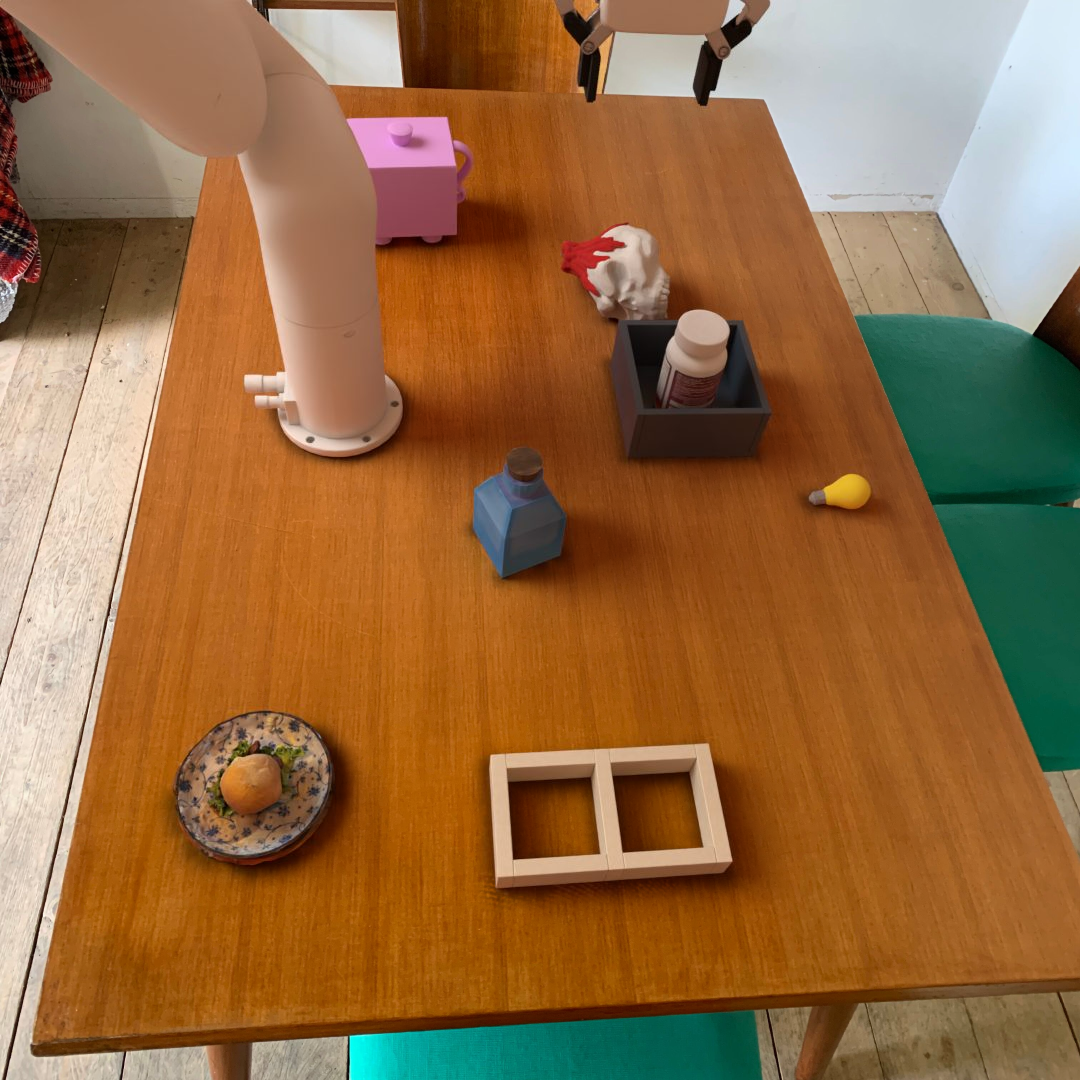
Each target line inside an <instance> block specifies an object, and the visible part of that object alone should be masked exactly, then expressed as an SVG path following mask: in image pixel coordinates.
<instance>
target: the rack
mask: <svg viewBox="0 0 1080 1080" xmlns="http://www.w3.org/2000/svg"><path fill="white" fill-rule="evenodd" d="M711 752H712V751H711V748H710V743H708V742H707V743H695V744H694V743H690V744H673V745H672V744H671V745H651V746H632V747H631V746H630V747H617V748H615V747H614V748H594V749H572V750H554V751H553V750H552V751H534V752H517V753H516V752H515V753H495V754H490V757H489V768H488V769H489V770H488V771H489V788H490V801H491V802H490V804H491V821H492V822H491V823H492V824H491V825H492V840H493V842H492V843H493V855H494V856H493V857H494V859H493V860H494V877H495V888H496V889H505V888H506V889H507V888H519V887H520V888H521V887H535V886H550V885H564V884H566V885H567V884H577V883H578V884H579V883H595V882H607V881H619V880H620V881H623V880H637V879H651V878H666V877H667V878H668V877H679V876H680V877H682V876H696V875H710V874H711V875H712V874H723V873H724V872H725V871H726V870H727V869H728V868H729V867H730V865H731V864H733V857H732V852H731V846H730V842H729V836H728V832H727V828H726V821H725V817H724V813H723V812H724V811H723V807H722V803H721V802H722V801H721V798H720V792H719V788H718V787H719V786H718V782H717V778H716V777H717V776H716V773H715V767H714V762H713V758H712V753H711ZM688 772H689V778H690V782H691V788H692V795H693V798H694V804H695V810H696V816H697V820H698V821H697V822H698V825H699V831H700V837H701V842H702V847H692V848H676V849H662V850H646V851H645V850H644V851H631V852H629V851H628V852H623V846H622V844H623V843H622V837H621V831H620V830H621V829H620V823H619V816H618V809H617V808H618V807H617V801H616V800H617V799H616V793H615V786H614V779H613V777H616V776H635V775H637V776H638V775H650V774H651V775H653V774H672V773H673V774H674V773H688ZM581 778H584V779H585V778H590V781H591V790H592V796H593V805H594V813H595V814H594V815H595V821H596V822H595V823H596V829H597V830H596V831H597V837H598V846H599V854H585V855H569V856H567V855H566V856H553V857H552V856H551V857H539V858H536V857H535V858H523V859H522V858H521V859H514V854H513V839H512V838H513V837H512V826H511V825H512V822H511V811H510V795H509V783H510V782H528V781H545V780H547V781H548V780H564V779H581ZM589 878H590V879H589Z"/></svg>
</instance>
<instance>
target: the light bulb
mask: <svg viewBox="0 0 1080 1080" xmlns="http://www.w3.org/2000/svg"><path fill="white" fill-rule="evenodd" d="M871 492H872V491H871V486H870V484H869V482H868V480H867V479H866V478H864V477H863V476H861V475H860V474H855V473H848V474H845V475H843V476H841V477H839V478H838V479H837V480H836V481H834V482H833V483H831V484H830V485H827V486H825V487H824V488H823V489H820V490H815V491H812V492H811V493H810V495H809V496H808V501H809V502H810V503H812V505H814V506H816V505H817V506H818V505H822V504H823V505H824V504H826V505H828V506H836V507H838V508H839V507H840V508H843V509H847V510H856V509H859V508H862V507H863V506H864V505H866V503H867V502H868V500H869V499H870V497H871Z"/></svg>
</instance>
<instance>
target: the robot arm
mask: <svg viewBox="0 0 1080 1080" xmlns="http://www.w3.org/2000/svg"><path fill="white" fill-rule="evenodd" d="M553 1H554V4H555V6H556V9H557V11H558V14H559V16H560V18H561V22H562V25H563V27H564V29H565V31H566V32H567V33H568V34H569V35H570V36H571V37H572V39H573V40H574V41H575V42H576V44H577V45H578V46H579V47H580V48H579V56H578V64H577V72H576V73H577V74H576V84H577V87H578V88H583V92H584V96H585V102H586V103H587V104H588V103H589V104H590V103H594V102H596V100H597V92H598V84H599V79H600V78H599V77H600V69H601V63H602V54H601V51H600V47H601V46H602V44H604V43H605V41H607V39H608V38H610V36H611V35H612V34H613V33H614V32H617V33H627V34H644V35H645V34H648V35H670V36H672V35H674V36H704V37H705V38H706V40H704V41H703V44H702V43H701V46H700V50H699V54H698V59H697V63H696V68H695V74H694V76H693V82H692V90H693V94H694V96H695V99H696V102H697V105H699V106H700V107H707V106H708V103H709V99H710V95H711V92H715V91H716V90H717V86H718V83H719V78H720V74H721V70H722V66H723V62H724V60H726V59H727V58H729V57H730V55H731V52H732V50H733V49H734V48H735V47H737V46H738V45H740V44H741V43H742V42H743V41H744V40H746V39H747V38H748V37H749V36H750V35H751V34H752V32H753V28H754V27H755V25H758V23H759V22H760V20H761V19H762V18H763V16H764V15H765V14H766V13H767V11H768V9H769V8H770V6H771V0H739V1H740V2H742V3H743V4H744V6H743V7H742V9H741V11H740V13H738V14H736V15H735V16H733V18H731V19H730V20H728V22H726V23H725V20H726V17H727V13H728V10H729V6H730V0H594V2H595V4H598V5H597V6H596V7H595V8H594V10H592V11H591V13H589V15H587V17H586V18H585V19H584V17H583V16H582V15H581V13H580V12H579V11H578V10H577V8H576V6H575V4H574V3H575V0H553ZM0 8H1V9H2V10H4V11H5V12H6V13H8V15H10V16H12V17H13V18H14V19H16V20H17V21H18V22H20V23H21V24H22V25H24V26H25V27H26V28H27V29H29V30H30V31H31V32H32V33H33V34H35V35H36V36H37V37H38V38H40V39H41V40H43V41H44V42H45V43H46V44H48V45H49V46H50V47H51V48H53V49H54V50H55V51H56V52H58V53H59V54H60V55H61V56H62V57H63V58H65V59H66V60H67V61H68V62H70V63H71V64H72V65H73V66H75V68H77V70H79V71H80V72H81V73H83V74H84V75H85V76H87V78H89V79H90V80H91V81H93V82H94V83H95V84H97V85H98V86H99V87H101V88H102V89H103V90H104V91H106V92H107V93H108V94H109V95H110V96H112V97H113V98H115V100H117V101H118V102H119V103H121V104H122V105H123V106H125V108H127V109H128V110H129V111H130V112H132V113H133V114H135V115H136V116H137V117H138V118H140V119H141V120H142V121H144V123H145V124H147V125H148V126H150V127H151V128H152V129H153V130H154V131H155V132H157V133H158V134H159V135H161V136H162V137H163V138H164V139H166V140H167V141H169V142H170V143H172V144H174V145H175V146H177V147H179V148H180V149H182V150H184V151H186V152H188V153H191V154H194V155H196V156H198V157H203V158H208V159H215V160H218V159H229V158H233V157H237V160H238V162H239V167H240V171H241V174H242V177H243V180H244V183H245V186H246V190H247V193H248V195H249V196H248V197H249V200H250V204H251V208H252V212H253V215H254V219H255V225H256V228H257V233H258V238H259V244H260V250H261V251H260V252H261V257H262V263H263V268H264V269H263V270H264V274H265V280H266V285H267V289H268V294H269V300H270V303H271V307H272V312H273V313H272V314H273V317H274V323H275V327H276V332H277V337H278V342H279V346H280V351H281V357H282V362H283V366H284V371H277V372H276V375H265V374H245V375H244V378H243V384H244V386H243V387H244V392H245V394H247V395H249V394H251V395H252V394H255V396H254V406H255V410H269V409H277V415H278V416H277V417H278V420H279V424H280V427H281V429H282V431H283V433H284V434H285V435H286V437H287V438H288V439H289V440H290V441H291V442H292V443H293V444H294V445H296V446H297V447H299V448H300V449H302V450H305V451H307V452H309V453H312V454H315V455H318V456H322V457H330V458H345V457H352V456H353V457H354V456H358V455H361V454H365V453H368V452H370V451H372V450H374V449H377V448H378V447H380V446H382V445H383V444H384V443H385V442H387V441H388V440H389V439H390V438H391V437H392V436H393V435H394V434H395V433H396V431H397V429H398V428H399V426H400V424H401V421H402V418H403V410H404V407H403V397H402V395H401V391H400V389H399V387H398V386H397V385H396V383H395V382H394V380H393V379H392V378H390V377H389V376H388V375H387V374H386V372H385V358H384V346H383V345H384V344H383V334H382V321H381V312H380V311H381V310H380V298H379V287H378V274H377V262H376V261H377V260H376V259H377V257H376V243H375V240H376V227H377V199H376V192H375V188H374V184H373V180H372V177H371V174H370V171H369V168H368V165H367V163H366V160H365V158H364V155H363V153H362V151H361V149H360V146H359V144H358V142H357V140H356V138H355V135H354V133H353V131H352V129H351V128H350V126H349V124H348V122H347V118H346V116H345V113H344V111H343V109H342V106H341V104H340V103H339V100H338V99H337V97H336V95H335V93H334V91H333V89H332V88H331V86H330V85H329V84H328V83H327V81H326V80H325V79H324V77H323V76H322V75H321V74H320V73H319V72H318V71H317V69H316V68H315V67H314V66H313V65H312V64H311V63H310V62H309V61H308V60H307V59H306V58H305V57H304V56H303V55H302V54H301V53H300V52H299V51H298V50H297V49H296V48H295V47H294V46H293V45H292V44H291V43H290V42H289V41H288V40H287V39H286V38H285V37H284V36H283V35H282V34H281V33H280V32H279V31H278V30H277V29H276V28H275V27H274V26H273V25H272V24H271V23H270V22H269V21H268V20H267V19H266V18H265V17H264V16H263V15H262V14H261V12H259V11H258V10H257V9H256V8H255V7H254V6H253V5H252V4H251V3H250V2H249V1H248V0H0ZM724 23H725V24H724ZM267 393H269V394H270V393H271V394H273V393H277V395H268V394H267ZM261 394H263V395H261ZM264 394H267V395H264Z"/></svg>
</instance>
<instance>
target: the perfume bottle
mask: <svg viewBox="0 0 1080 1080" xmlns="http://www.w3.org/2000/svg"><path fill="white" fill-rule="evenodd" d="M543 465H544V458H543V456H542V454H541V453H540V452H539V450H536V449H534V448H533V447H529V446H518V447H517V446H516V447H515V448H513V449H511V450H510V451H509V452H508V453H507V455H506V457H505V463H504V465H503V472H500V473H497V474H494V475H491V476H490V477H488V478H487V479H486V480H485V481H483V482H482V483H480V484H479V485H478V486H476V487H475V488H473V489H474V493H473V519H472V520H473V521H472V523H473V524H472V530H473V531H474V533H475V535H476V536H477V538H478V540H479V542H480V544H481V546H482V547H483V549H484V551H485V553H486V554H487V556H488V558H489V559H490V561H491V563H492V564H493V566H494V568H495V570H496V571H497V573H498V575H499V576H500V578H501V579H504V578H506V577H509V576H511V575H514V574H516V573H519V572H522V571H525V570H527V569H530V568H533V567H534V566H537V565H539V564H543V563H545V562H548V561H550V560H553V559H555V558H558V557H560V556H561V554H562V547H563V541H564V535H565V529H566V524H567V518H568V516H567V514H566V513H565V511H564V510H563V508H562V507H561V505H560V504H559V502H558V500H557V499H556V497H555V496H554V494H553V492H552V491H551V490H550V488H549V486H548V484H547V483H546V482H545V480H544V466H543Z"/></svg>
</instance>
